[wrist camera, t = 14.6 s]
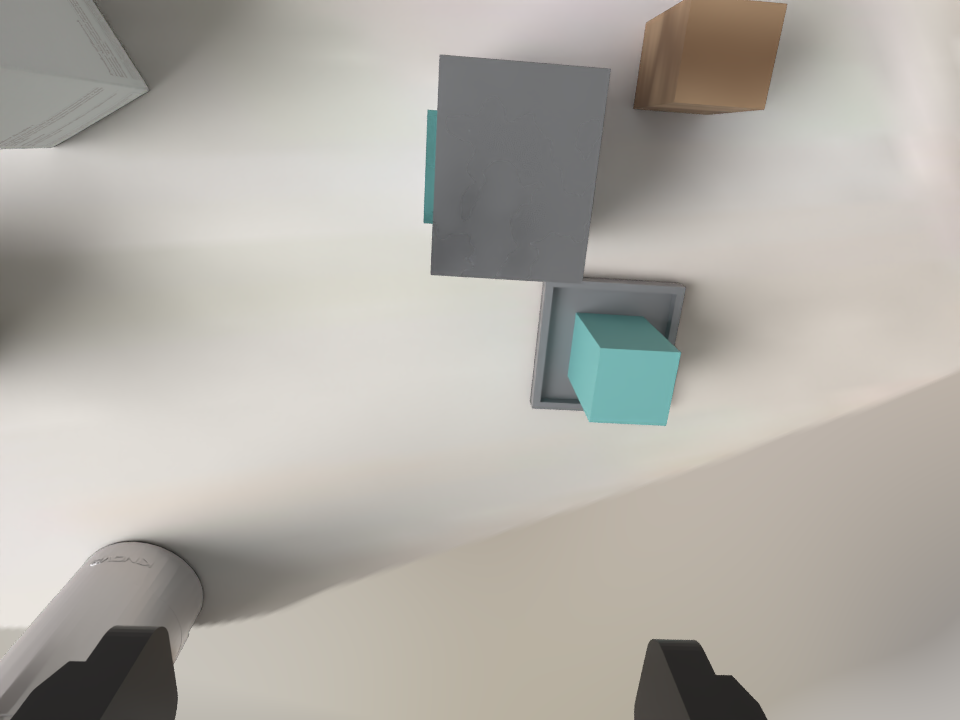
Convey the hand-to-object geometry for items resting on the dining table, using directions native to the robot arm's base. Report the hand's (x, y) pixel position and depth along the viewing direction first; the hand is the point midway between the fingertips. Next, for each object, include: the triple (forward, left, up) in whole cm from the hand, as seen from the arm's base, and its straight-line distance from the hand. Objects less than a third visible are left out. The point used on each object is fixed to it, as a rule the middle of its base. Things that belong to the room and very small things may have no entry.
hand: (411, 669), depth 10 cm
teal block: (-4, -11, -30) cm, 32 cm away
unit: (+7, -3, -30) cm, 31 cm away
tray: (-4, -11, -30) cm, 32 cm away
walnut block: (+13, -13, -30) cm, 35 cm away
